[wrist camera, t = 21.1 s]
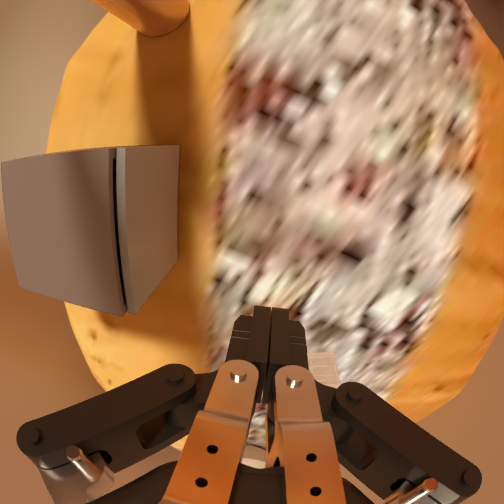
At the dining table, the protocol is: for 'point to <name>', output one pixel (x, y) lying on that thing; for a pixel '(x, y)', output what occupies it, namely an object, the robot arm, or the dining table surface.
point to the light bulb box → (324, 368)
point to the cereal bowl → (254, 457)
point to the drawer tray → (146, 217)
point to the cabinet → (65, 227)
